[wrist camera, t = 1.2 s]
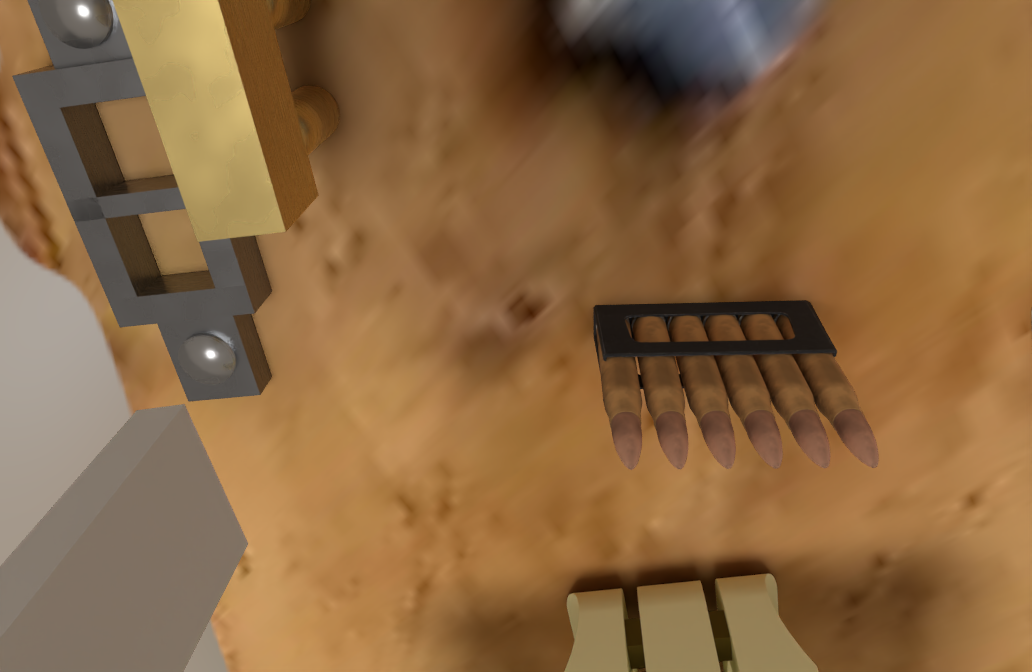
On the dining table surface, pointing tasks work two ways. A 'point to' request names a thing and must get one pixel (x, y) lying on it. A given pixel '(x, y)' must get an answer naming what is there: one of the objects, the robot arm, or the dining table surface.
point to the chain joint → (139, 209)
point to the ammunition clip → (726, 379)
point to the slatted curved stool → (685, 630)
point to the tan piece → (229, 110)
